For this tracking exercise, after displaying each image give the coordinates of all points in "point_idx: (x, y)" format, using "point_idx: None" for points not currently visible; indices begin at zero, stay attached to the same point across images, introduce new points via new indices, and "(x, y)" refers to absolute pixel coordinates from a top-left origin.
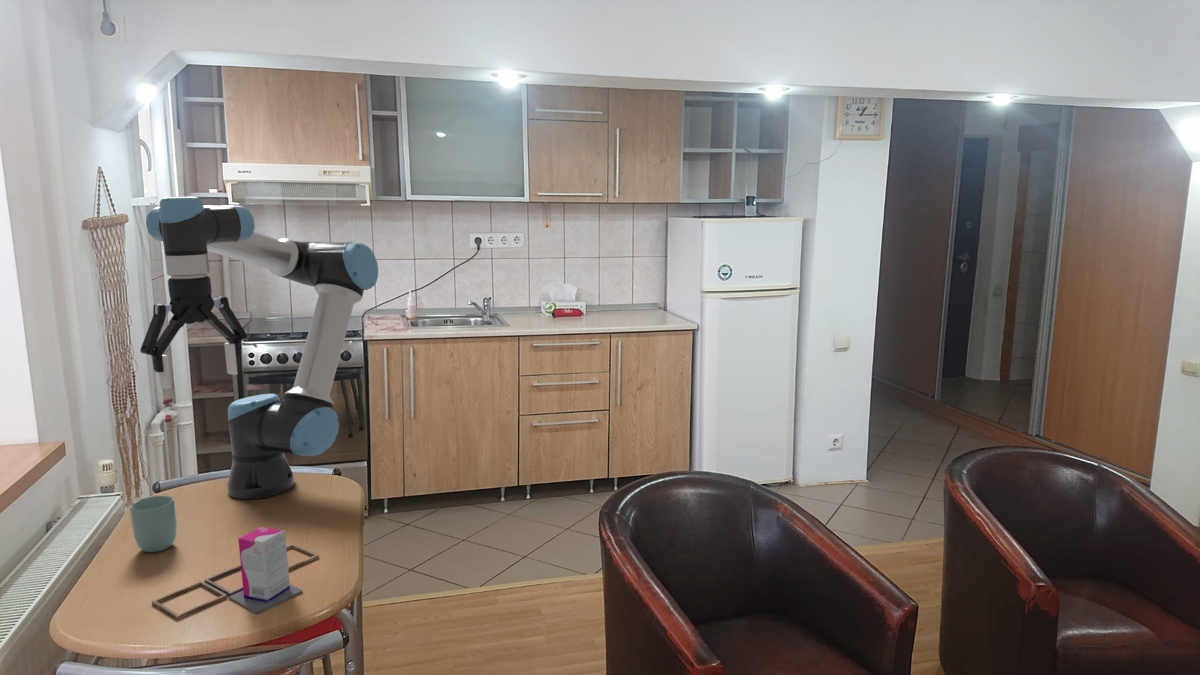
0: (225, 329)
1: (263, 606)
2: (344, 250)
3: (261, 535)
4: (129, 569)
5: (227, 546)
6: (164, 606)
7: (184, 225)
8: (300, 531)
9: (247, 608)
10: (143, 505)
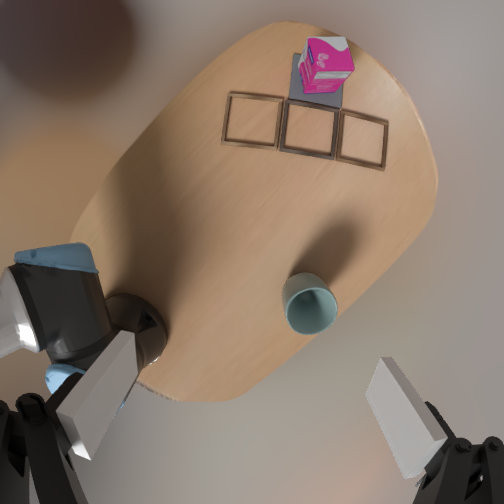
0: (53, 497)
1: None
2: None
3: (334, 49)
4: (348, 265)
5: (260, 217)
6: (384, 149)
7: None
8: (186, 172)
9: None
10: (309, 326)
